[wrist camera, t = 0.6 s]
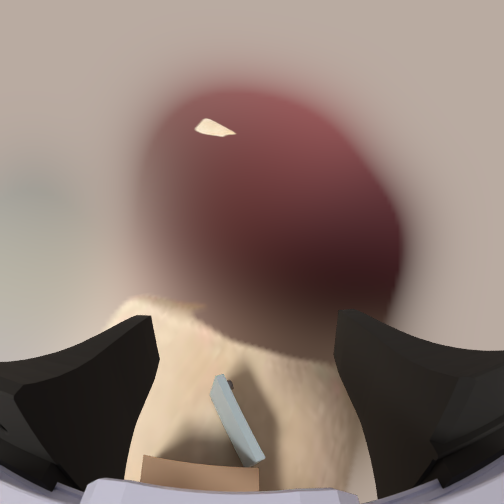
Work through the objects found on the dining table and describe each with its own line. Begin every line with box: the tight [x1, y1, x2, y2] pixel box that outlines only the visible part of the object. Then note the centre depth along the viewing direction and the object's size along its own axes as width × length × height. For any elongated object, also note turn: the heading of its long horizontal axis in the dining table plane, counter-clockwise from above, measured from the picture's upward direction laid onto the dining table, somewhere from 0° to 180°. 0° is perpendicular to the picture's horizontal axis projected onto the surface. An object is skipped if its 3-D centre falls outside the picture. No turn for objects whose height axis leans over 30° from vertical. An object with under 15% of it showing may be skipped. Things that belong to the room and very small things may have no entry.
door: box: [210, 374, 266, 468], centre depth 23 cm, size 2×9×5 cm, turn 25°
